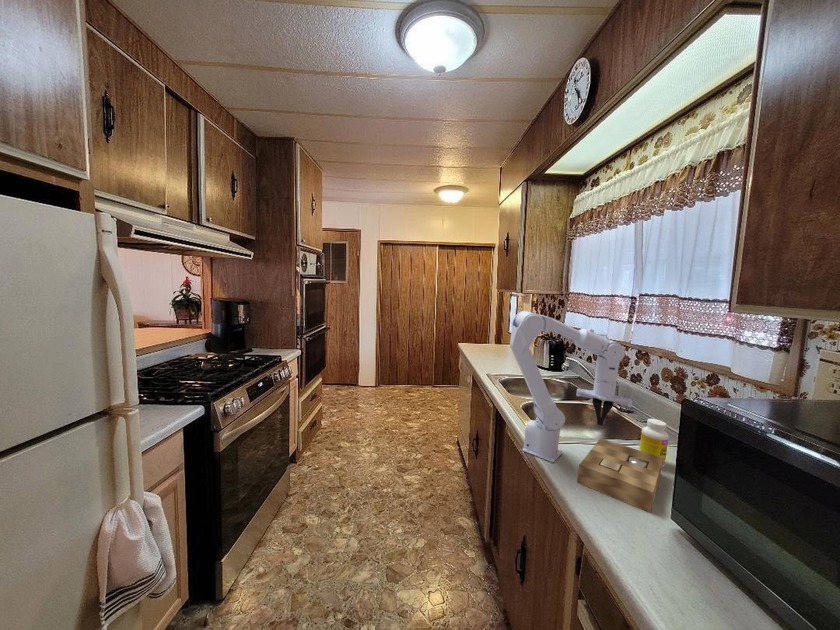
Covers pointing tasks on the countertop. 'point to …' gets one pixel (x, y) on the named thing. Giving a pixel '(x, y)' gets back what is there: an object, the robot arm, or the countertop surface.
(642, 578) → the countertop surface
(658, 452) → the supplement bottle
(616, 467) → the peg maple
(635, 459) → the peg steel
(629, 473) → the oak block
